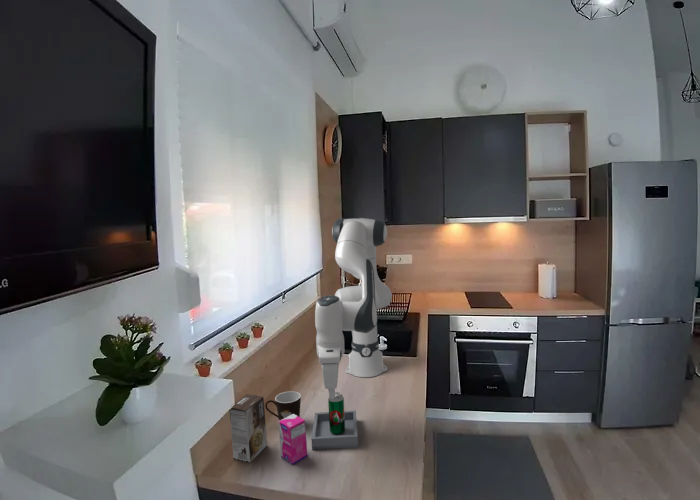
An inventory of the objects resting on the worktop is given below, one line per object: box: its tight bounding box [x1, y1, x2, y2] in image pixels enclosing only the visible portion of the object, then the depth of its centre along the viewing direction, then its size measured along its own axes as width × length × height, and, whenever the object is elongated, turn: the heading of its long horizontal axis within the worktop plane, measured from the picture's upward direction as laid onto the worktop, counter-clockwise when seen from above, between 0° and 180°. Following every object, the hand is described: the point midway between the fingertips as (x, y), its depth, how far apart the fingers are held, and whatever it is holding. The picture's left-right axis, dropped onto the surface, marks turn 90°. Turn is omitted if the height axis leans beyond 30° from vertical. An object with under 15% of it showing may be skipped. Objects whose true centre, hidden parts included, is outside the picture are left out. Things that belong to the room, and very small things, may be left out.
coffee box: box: [229, 393, 268, 463], centre depth 121 cm, size 9×6×16 cm
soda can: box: [327, 391, 345, 435], centre depth 128 cm, size 5×5×12 cm
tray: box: [311, 410, 359, 451], centre depth 129 cm, size 16×14×4 cm
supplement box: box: [278, 414, 309, 465], centre depth 117 cm, size 6×6×12 cm
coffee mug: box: [264, 390, 302, 422], centre depth 136 cm, size 12×9×10 cm
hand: (332, 389), depth 128 cm, fingers open, 8 cm apart
